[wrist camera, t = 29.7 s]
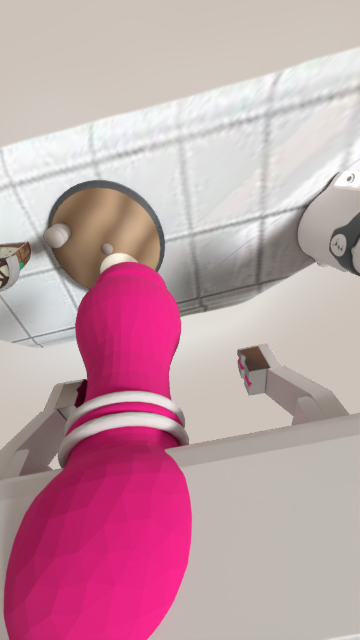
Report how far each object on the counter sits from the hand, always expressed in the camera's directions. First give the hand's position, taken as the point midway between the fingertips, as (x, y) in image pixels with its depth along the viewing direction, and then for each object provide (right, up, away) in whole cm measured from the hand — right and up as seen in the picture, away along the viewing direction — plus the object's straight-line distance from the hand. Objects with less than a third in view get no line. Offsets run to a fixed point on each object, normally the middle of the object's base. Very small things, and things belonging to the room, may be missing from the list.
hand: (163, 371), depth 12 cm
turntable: (-13, +17, +33) cm, 39 cm away
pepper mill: (-3, +5, +8) cm, 10 cm away
